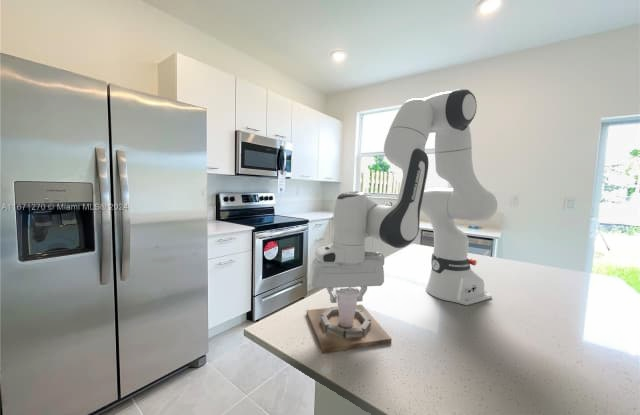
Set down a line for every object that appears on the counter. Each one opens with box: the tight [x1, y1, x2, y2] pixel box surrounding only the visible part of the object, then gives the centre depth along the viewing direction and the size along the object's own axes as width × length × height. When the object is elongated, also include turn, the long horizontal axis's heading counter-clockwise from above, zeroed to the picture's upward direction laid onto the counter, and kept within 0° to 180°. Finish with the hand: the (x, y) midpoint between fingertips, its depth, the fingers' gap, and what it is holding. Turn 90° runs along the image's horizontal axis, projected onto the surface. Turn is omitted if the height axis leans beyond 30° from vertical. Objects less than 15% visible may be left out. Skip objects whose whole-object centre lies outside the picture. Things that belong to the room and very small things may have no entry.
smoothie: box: [335, 287, 360, 327], centre depth 69 cm, size 6×6×14 cm
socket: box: [306, 304, 393, 354], centre depth 70 cm, size 18×18×3 cm
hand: (346, 301), depth 69 cm, fingers closed on smoothie, 6 cm apart
